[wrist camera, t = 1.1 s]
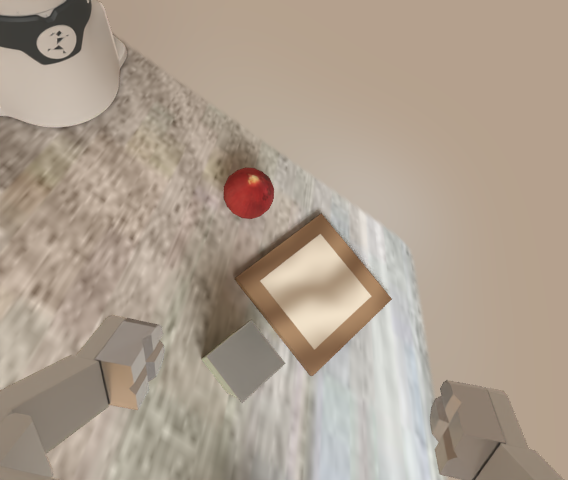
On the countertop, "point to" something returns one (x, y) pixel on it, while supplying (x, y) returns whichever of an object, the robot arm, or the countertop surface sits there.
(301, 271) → the board
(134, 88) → the countertop surface
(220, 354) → the tea tin
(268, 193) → the onion
